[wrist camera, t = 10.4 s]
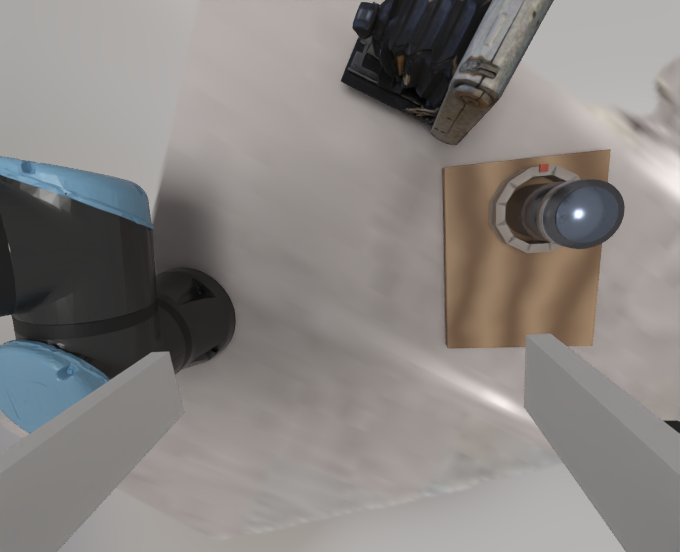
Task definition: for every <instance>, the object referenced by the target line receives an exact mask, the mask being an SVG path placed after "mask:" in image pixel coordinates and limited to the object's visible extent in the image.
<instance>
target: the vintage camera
mask: <svg viewBox="0 0 680 552" xmlns="http://www.w3.org/2000/svg"><path fill="white" fill-rule="evenodd" d="M553 1H554V0H385V1H384V2H383V3H382V4H381V5H379V4H377V3H375V2H373V4H372V3H367V2H361V4H360V6H359V8H358V10H357V13H356V16H355V19H354V22H353V29H354V31H355V32H356V33H357V34H358V36H359V37H358V39H357V42H356V44H355V47H354V49H353V52H352V54H351V57H350V59H349V62H348V64H347V66H346V69H345V71H344V74H343V77H342V79H341V82H343V83H345V84H347V85H349V86H351V87H353V88H355V89H357V90H359V91H361V92H363V93H365V94H367V95H369V96H371V97H373V98H375V99H377V100H379V101H381V102H383V103H385V104H387V105H390V106H392V107H394V108H397V109H399V110H401V111H403V112H405V113H407V114H409V115H411V116H413V117H415V118H417V119H419V120H421V121H423V122H426V123H428V124H430V125H432V126H433V127H432V129H431V133H432V134H433V135H434V136H435V137H436V138H437V139H439V140H440V141H442V142H445V143H447V144H455V145H457V144H458V143H459V142H460V141H461V140H462V139H463V138H464V137H465V136H466V135H467V134H468V132H469V131H470V130H471V129H472V128H473V127H474V126H475V125H476V124H477V123H478V122H479V121H480V120H481V119H482V118H483V116H484V115H485V114H486V113H487V112H488V111H489V110H490V109H491V108H492V107H493V105H494V104H495V103H496V102H497V101H498V100H499V98H500V97H501V96H502V94H503V92H504V90H505V88H506V86H507V85H508V83H509V81H510V79H511V77H512V75H513V74H514V72H515V70H516V68H517V66H518V64H519V63H520V61H521V59H522V57H523V55H524V53H525V52H526V50H527V48H528V46H529V44H530V42H531V41H532V39H533V37H534V35H535V33H536V31H537V30H538V28H539V26H540V24H541V22H542V20H543V19H544V17H545V15H546V13H547V11H548V10H549V8H550V6H551V4H552V3H553Z"/></svg>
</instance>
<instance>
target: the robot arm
mask: <svg viewBox="0 0 680 552" xmlns="http://www.w3.org/2000/svg"><path fill="white" fill-rule="evenodd" d="M153 230H154V226H153V225H152V224H151V217H150V210H149V202H148V197H147V195H146V193H145V191H144V190H143V189H142V188H141V187H140V186H138V185H137V184H135V183H133V182H131V181H127V180H124V179H120V178H116V177H111V176H107V175H102V174H98V173H93V172H88V171H83V170H78V169H73V168H68V167H62V166H57V165H51V164H45V163H36V162H31V161H24V160H19V159H15V158H9V157H1V156H0V317H1V316H5V315H12V319H13V324H14V331H15V336H16V340H13V341H9V342H7V343H4V344H2V345H0V410H1V411H2V412H3V413H4V414H5V415H6V416H7V417H8V418H9V419H10V420H11V421H12V422H14V423H15V424H17V425H18V426H19V427H20V428H22V429H23V430H25V431H27V432H28V433H30V434H29V435H28V436H26V437H25V438H23V439H22V440H20V441H19V442H17V443H16V444H14V445H13V446H11V447H10V448H8V449H7V450H5V451H4V452H2V453H1V454H0V552H57V551H58V550H59V549H60V548H61V547H62V546H63V545H64V544H65V542H66V541H67V540H68V539H69V538H70V537H71V536H72V535H73V534H74V532H76V530H77V529H78V528H79V527H80V526H81V525H82V524H83V523H84V522H85V521H86V520H87V519H88V517H89V516H90V515H91V514H92V513H93V512H94V511H95V510H96V509H97V507H98V506H99V505H100V504H101V503H102V502H103V501H104V500H105V499H106V498H107V497H108V495H109V494H110V493H111V492H112V491H113V490H114V489H115V488H116V487H117V486H118V485H119V484H120V482H121V481H122V480H123V479H124V478H125V477H126V476H127V475H128V474H129V473H130V471H131V470H132V469H133V468H134V467H135V466H136V465H137V464H138V463H139V462H140V461H141V459H142V458H143V457H144V456H145V455H146V454H147V453H148V452H149V451H150V450H151V448H152V447H153V446H154V445H155V444H156V443H157V442H158V441H159V440H160V439H161V438H162V436H163V435H164V434H165V433H166V432H167V431H168V430H169V429H170V428H171V427H172V426H173V424H174V423H175V422H176V421H177V420H178V419H179V418H180V417H181V416H182V415H183V413H184V409H183V405H182V401H181V397H180V393H179V389H178V385H177V381H176V377H175V374H176V373H177V372H179V371H180V370H181V369H184V368H188V367H191V366H194V365H197V364H200V363H203V362H206V361H208V360H210V359H212V358H213V357H215V356H216V355H217V354H218V353H219V352H221V351H222V350H223V349H224V348H225V347H226V346H227V344H228V343H229V342H230V340H231V338H232V335H233V332H234V328H235V314H234V309H233V306H232V303H231V301H230V299H229V297H228V295H227V293H226V292H225V290H224V289H223V288H222V287H221V286H220V285H219V284H218V283H217V282H216V281H215V280H214V279H213V278H211V277H210V276H208V275H206V274H204V273H202V272H200V271H197V270H193V269H187V268H179V269H173V270H170V271H167V272H164V273H161V274H159V275H157V276H155V262H154V246H153ZM524 408H525V409H526V410H527V412H528V413H529V415H530V416H531V418H532V419H533V420H534V422H535V423H536V425H537V426H538V427H539V429H540V430H541V432H542V433H543V435H544V436H545V437H546V439H547V440H548V442H549V443H550V445H551V446H552V447H553V449H554V450H555V452H556V453H557V454H558V456H559V457H560V459H561V460H562V462H563V463H564V464H565V466H566V467H567V469H568V470H569V471H570V473H571V474H572V476H573V477H574V479H575V480H576V481H577V483H578V484H579V486H580V487H581V489H582V490H583V491H584V493H585V494H586V496H587V497H588V499H589V500H590V501H591V503H592V504H593V506H594V507H595V509H596V510H597V511H598V513H599V514H600V515H601V517H602V518H603V519H604V521H605V523H606V524H607V526H608V527H609V528H610V530H611V531H612V533H613V534H614V536H615V537H616V538H617V540H618V541H619V543H620V544H621V545H622V547H623V548H624V550H625V551H626V552H680V422H679V421H663V420H661V419H660V418H659V417H658V416H656V415H655V414H654V413H652V412H651V411H650V410H649V409H647V408H646V407H645V406H643V405H642V404H641V403H639V402H638V401H637V400H636V399H634V398H633V397H632V396H630V395H629V394H628V393H627V392H625V391H624V390H623V389H621V388H620V387H619V386H618V385H616V384H615V383H614V382H612V381H611V380H610V379H609V378H607V377H606V376H605V375H603V374H602V373H601V372H600V371H598V370H597V369H596V368H594V367H593V366H592V365H591V364H589V363H588V362H587V361H585V360H584V359H583V358H582V357H580V356H579V355H578V354H576V353H575V352H574V351H572V350H571V349H570V348H569V347H567V346H566V345H565V344H563V343H562V342H561V341H560V340H558V339H557V338H556V337H554V336H553V335H552V334H531V335H526V352H525V389H524Z"/></svg>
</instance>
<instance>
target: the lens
mask: <svg viewBox="0 0 680 552" xmlns="http://www.w3.org/2000/svg"><path fill="white" fill-rule="evenodd" d="M623 216H624V201H623V198H622V196H621V194H620V193H619V191H618V190H617V189H616V188H615V187H614V186H613V185H611V184H609V183H608V182H605V181H602V180H596V179H581V180H572V181H565V182H554V183H543V184H532V185H527V186H524V187H521V188H520V189H518V190H517V191H515V192H514V193H513V194H512V195H511V196H510V198H509V200H508V201H507V203H506V206H505V220H506V222H507V224H508V226H509V227H510V228H511V229H512V230H513V231H515V232H517V233H519V234H522V235H526V236H529V237H533V238H537V239H540V240H544V241H547V242H551V243H553V244H556V245H559V246H563V247H567V248H573V249H587V248H591V247H595V246H597V245H599V244H601V243H603V242H605V241H606V240H608V239H609V238H610V237H611V236H612V235H613V234H614V233H615V232H616V231H617V229H618V228H619V226H620V224H621V222H622V219H623Z"/></svg>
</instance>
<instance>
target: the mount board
mask: <svg viewBox="0 0 680 552" xmlns="http://www.w3.org/2000/svg"><path fill="white" fill-rule="evenodd" d="M610 150H611V149H609V150H600V151H591V152H582V153H572V154H563V155H554V156H545V157H536V158H526V159H517V160H508V161H499V162H490V163H481V164H471V165H462V166H453V167H444V168H443V218H444V268H445V319H446V345H447V347H448V348H496V347H526V335H531V334H552V335H553V336H554V337H556V338H557V339H558V340H560V341H561V342H562V343H563V344H565V345H566V346H593V335H594V324H595V313H596V302H597V291H598V281H599V270H600V259H601V248H602V243H601V244H599V245H597V246H595V247H591V248H587V249H573V248H567V247H563V246H559V245H556V244H553V243H551V242H547V241H544V240H540V239H537V238H533V237H529V236H526V235H522V234H519V233H517V232H515V231H513V230H512V229H511V228H510V227H509V226H508V224H507V222H506V220H505V206H506V203H507V201H508V200H509V198H510V196H511V195H512V194H513V193H514V192H515V191H517V190H518V189H520V188H521V187H524V186H527V185H532V184H543V183H554V182H565V181H572V180H581V179H596V180H602V181H605V182H608V172H609V161H610Z"/></svg>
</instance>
